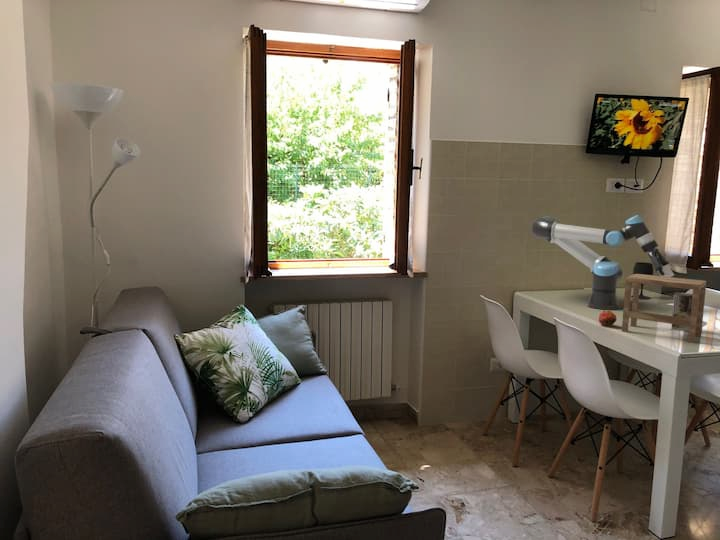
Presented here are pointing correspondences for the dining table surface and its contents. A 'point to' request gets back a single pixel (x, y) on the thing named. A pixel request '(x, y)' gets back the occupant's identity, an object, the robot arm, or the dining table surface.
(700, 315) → the walnut table
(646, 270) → the wine glass
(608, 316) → the pomegranate
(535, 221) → the robot arm
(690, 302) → the coffee box
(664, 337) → the dining table surface
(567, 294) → the dining table surface
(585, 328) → the dining table surface
